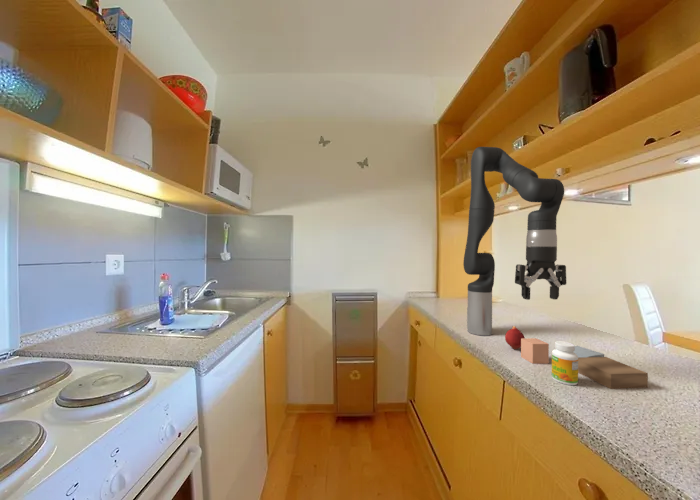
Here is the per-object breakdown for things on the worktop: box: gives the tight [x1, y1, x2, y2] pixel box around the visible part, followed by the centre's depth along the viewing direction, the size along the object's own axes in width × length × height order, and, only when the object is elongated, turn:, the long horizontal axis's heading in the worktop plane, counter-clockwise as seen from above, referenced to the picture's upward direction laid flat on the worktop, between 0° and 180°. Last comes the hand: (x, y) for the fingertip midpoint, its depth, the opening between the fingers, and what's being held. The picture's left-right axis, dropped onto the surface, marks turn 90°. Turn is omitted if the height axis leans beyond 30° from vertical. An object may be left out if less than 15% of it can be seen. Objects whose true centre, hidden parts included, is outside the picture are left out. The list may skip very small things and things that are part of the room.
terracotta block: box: [520, 337, 550, 365], centre depth 82 cm, size 5×5×6 cm
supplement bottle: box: [551, 340, 579, 386], centre depth 69 cm, size 5×5×10 cm
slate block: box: [573, 345, 605, 358], centre depth 80 cm, size 7×7×4 cm
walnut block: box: [578, 356, 649, 390], centre depth 70 cm, size 10×10×4 cm
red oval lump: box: [504, 325, 526, 350], centre depth 91 cm, size 6×6×8 cm
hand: (539, 299), depth 79 cm, fingers open, 8 cm apart
